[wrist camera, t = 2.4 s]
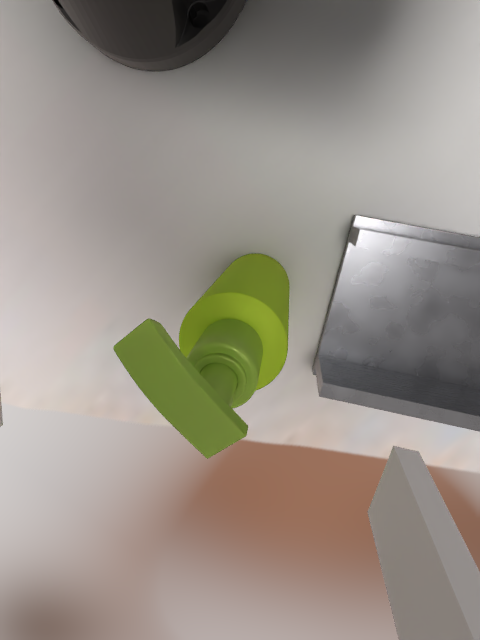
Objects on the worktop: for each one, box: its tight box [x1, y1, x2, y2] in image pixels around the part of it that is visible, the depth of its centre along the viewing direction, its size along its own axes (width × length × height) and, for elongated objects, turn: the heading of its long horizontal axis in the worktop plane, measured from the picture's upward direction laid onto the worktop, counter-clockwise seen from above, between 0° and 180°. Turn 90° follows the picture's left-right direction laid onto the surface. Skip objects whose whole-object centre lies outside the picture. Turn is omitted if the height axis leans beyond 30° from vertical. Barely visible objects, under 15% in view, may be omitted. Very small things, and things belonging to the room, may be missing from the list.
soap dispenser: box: [114, 254, 289, 459], centre depth 22 cm, size 6×7×20 cm
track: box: [312, 215, 480, 431], centre depth 27 cm, size 14×22×6 cm, turn 80°
